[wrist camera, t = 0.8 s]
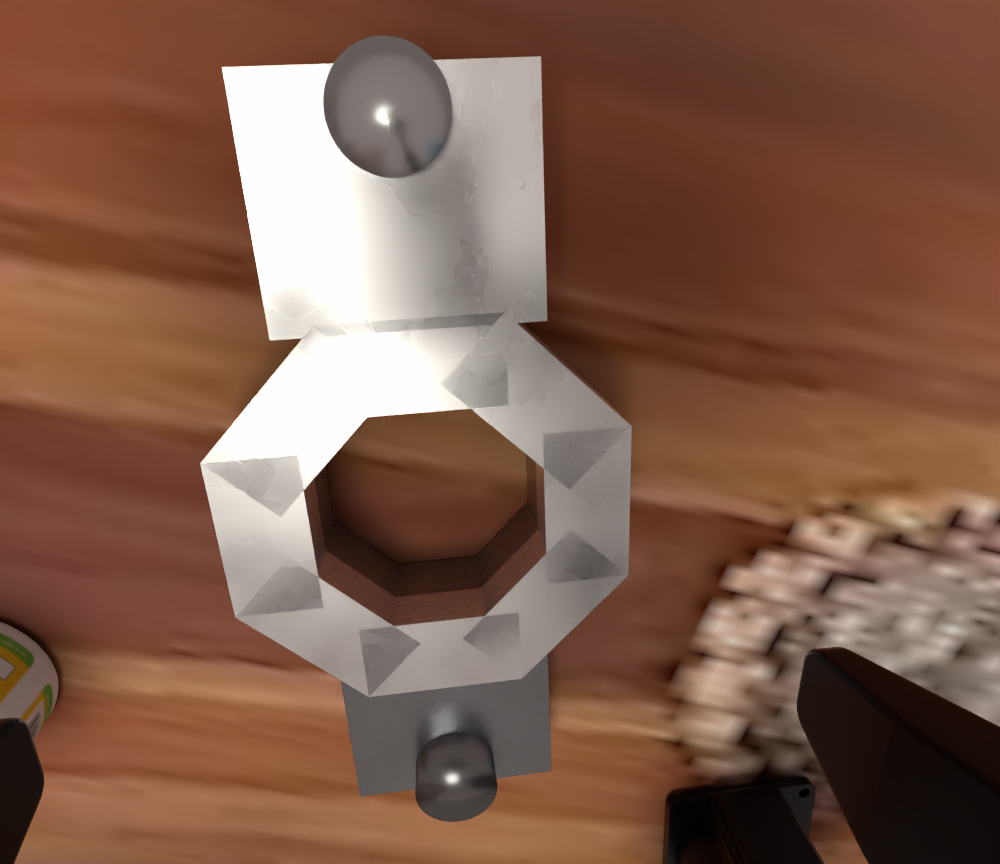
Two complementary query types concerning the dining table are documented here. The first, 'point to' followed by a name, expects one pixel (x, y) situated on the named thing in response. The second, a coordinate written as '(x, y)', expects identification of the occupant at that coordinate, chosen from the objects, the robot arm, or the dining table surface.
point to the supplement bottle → (25, 679)
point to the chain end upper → (407, 358)
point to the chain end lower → (447, 711)
